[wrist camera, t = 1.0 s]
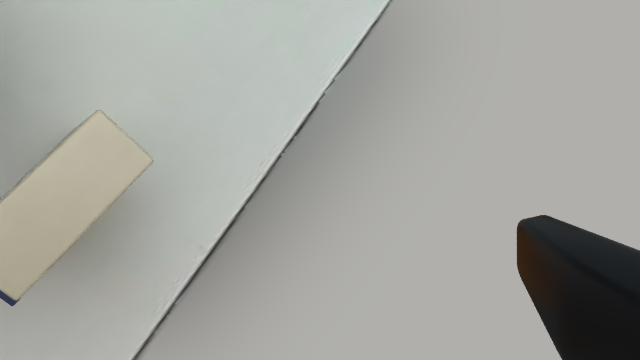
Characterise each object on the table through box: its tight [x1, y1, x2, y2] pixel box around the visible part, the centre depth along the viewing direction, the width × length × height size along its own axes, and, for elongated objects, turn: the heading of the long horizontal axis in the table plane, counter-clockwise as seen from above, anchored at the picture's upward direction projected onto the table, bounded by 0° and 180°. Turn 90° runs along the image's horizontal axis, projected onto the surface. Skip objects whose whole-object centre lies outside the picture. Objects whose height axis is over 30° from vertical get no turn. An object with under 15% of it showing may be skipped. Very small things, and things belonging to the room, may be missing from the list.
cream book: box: [0, 110, 153, 306], centre depth 18 cm, size 5×2×8 cm, turn 139°
